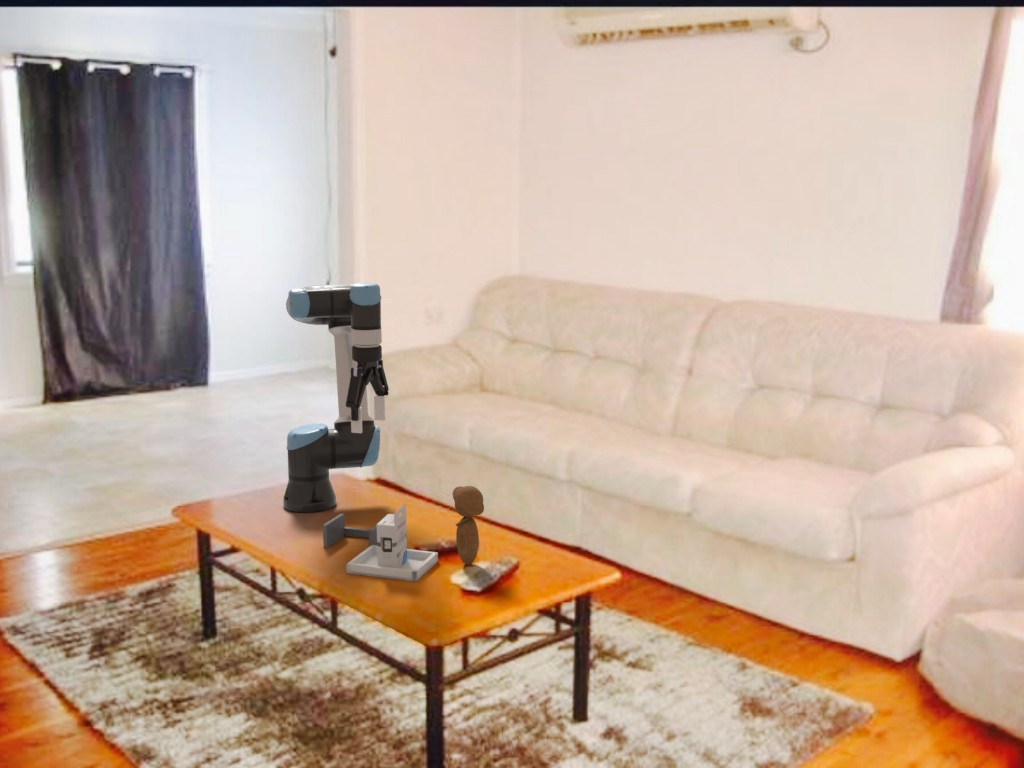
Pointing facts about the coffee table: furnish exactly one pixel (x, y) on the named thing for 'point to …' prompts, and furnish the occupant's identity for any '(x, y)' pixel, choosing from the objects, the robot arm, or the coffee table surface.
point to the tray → (409, 571)
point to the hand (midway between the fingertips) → (368, 426)
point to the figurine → (467, 521)
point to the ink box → (392, 539)
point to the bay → (345, 532)
